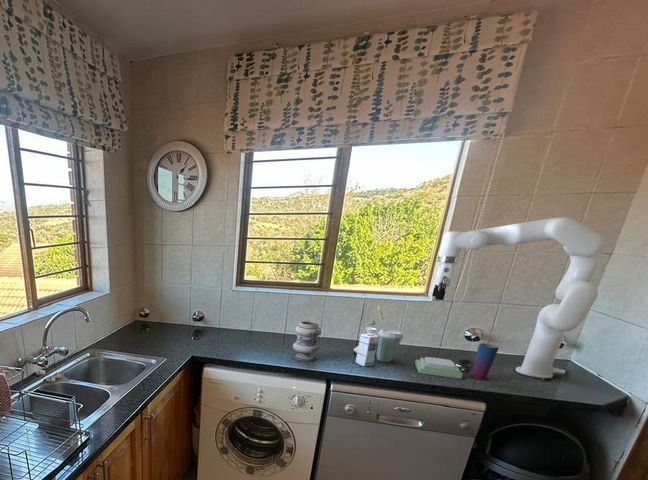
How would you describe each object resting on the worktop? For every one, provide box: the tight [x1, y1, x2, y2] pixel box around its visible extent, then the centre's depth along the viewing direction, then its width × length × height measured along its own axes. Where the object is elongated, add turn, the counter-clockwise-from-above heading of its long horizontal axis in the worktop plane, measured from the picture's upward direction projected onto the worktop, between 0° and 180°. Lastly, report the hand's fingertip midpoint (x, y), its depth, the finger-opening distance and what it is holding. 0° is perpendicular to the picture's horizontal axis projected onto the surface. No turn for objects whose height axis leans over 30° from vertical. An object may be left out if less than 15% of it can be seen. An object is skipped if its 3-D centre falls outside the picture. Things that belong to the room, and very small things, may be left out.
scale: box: [414, 357, 464, 380], centre depth 184 cm, size 16×14×4 cm
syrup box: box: [355, 333, 380, 367], centre depth 190 cm, size 6×6×14 cm
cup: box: [470, 342, 500, 381], centre depth 174 cm, size 7×7×15 cm
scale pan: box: [424, 356, 455, 369], centre depth 183 cm, size 10×10×2 cm
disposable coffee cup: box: [376, 328, 404, 363], centre depth 195 cm, size 11×11×15 cm
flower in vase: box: [353, 305, 385, 356], centre depth 202 cm, size 13×11×25 cm
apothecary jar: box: [292, 320, 322, 362], centre depth 197 cm, size 12×12×18 cm
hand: (437, 298), depth 188 cm, fingers open, 9 cm apart
